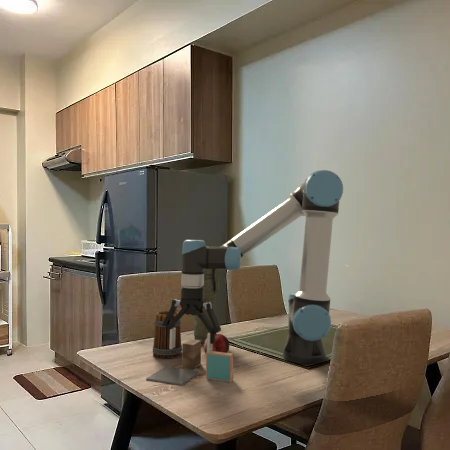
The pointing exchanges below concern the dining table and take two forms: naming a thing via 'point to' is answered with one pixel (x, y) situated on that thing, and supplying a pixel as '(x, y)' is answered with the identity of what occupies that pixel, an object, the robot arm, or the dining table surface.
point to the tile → (219, 366)
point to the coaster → (173, 375)
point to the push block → (191, 354)
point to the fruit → (218, 344)
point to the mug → (166, 338)
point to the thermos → (209, 296)
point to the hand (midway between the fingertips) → (190, 350)
